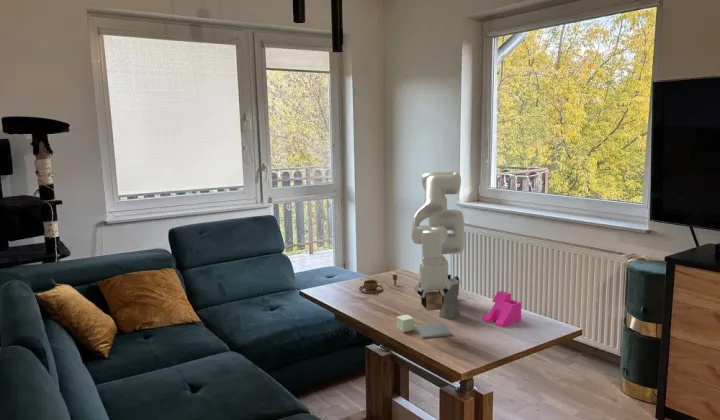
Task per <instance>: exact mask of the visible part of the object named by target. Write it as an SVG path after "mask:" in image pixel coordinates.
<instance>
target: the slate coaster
mask: <svg viewBox="0 0 720 420" xmlns="http://www.w3.org/2000/svg"><path fill="white" fill-rule="evenodd" d="M414 329H415V331H416V332H417V333H418V334H419V335H420V337H421V339H432V338H441V337H451V336H453V333H452V331H451V330H450V329H449V328H448V327H447V326H446V324H444V322H435V323H434V322H432V323H424V324H414Z"/></svg>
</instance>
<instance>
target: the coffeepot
mask: <svg viewBox="0 0 720 420" xmlns="http://www.w3.org/2000/svg"><path fill="white" fill-rule="evenodd" d="M447 276H448V279H446V281H447V282H448V283H449V284H450V285H451V288H450V289H449V290H448V291H447V292H446V293H445V295H444V303H443V306H442V309H440V310H439V315H438V316H439V317H441V319H442V318H443V319H445V320H454V319H458V318H460V316H461V312H460V305H459V301H458V296H459V295H458V291H460V284H461V283H460V282H461V280H460V278H459V276H458V275H456V276H453V277H452V275H451V274H448V275H447Z"/></svg>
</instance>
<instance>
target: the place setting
mask: <svg viewBox="0 0 720 420" xmlns="http://www.w3.org/2000/svg"><path fill="white" fill-rule="evenodd" d="M392 280H393V284H394V285H396V286H397V280H398V274H393V275H392ZM362 287H364V288H363V289H364V290H363V289H361V290H360V288H362ZM377 287H380V288H382V289H380V288H379V289H378V288H377ZM383 287H384V286H383V285H381V284H380V285H379V284H378V280H375V279H368V280H364V281H363V285H361V286H360V287H358V290H359V292H360V291H361V293H362V292H365V293H364V294H367V293H373V294H377V293H376V292H378V293H381V292H382V291H383V290H384V288H383ZM376 289H378V290H376ZM367 290H369V291H367ZM372 290H374V291H372ZM380 291H381V292H380Z"/></svg>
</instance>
